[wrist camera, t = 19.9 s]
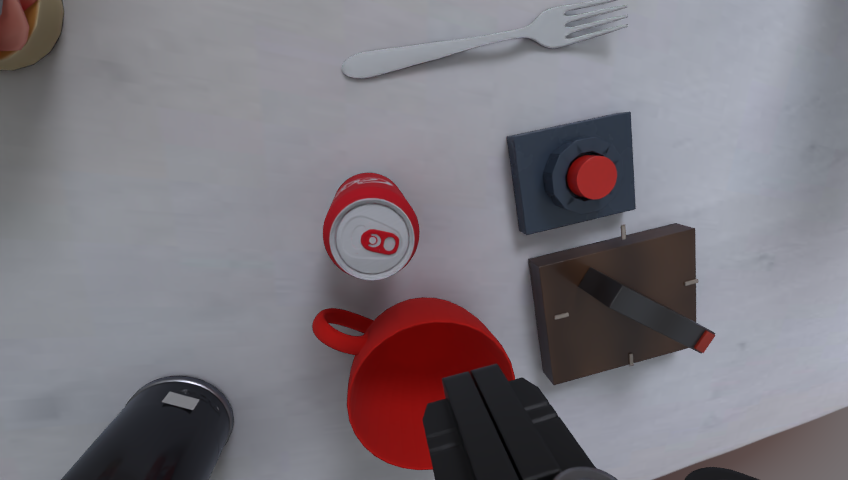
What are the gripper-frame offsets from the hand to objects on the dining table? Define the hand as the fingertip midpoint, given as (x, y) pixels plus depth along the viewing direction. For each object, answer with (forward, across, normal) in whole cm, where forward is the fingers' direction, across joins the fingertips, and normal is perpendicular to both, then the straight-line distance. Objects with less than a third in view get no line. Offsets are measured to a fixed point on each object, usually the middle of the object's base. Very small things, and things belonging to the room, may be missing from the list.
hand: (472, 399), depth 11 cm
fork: (+27, -11, -13) cm, 32 cm away
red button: (+24, -17, 0) cm, 29 cm away
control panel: (+27, -20, +14) cm, 36 cm away
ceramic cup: (+27, +2, +11) cm, 29 cm away
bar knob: (+24, -21, +13) cm, 34 cm away
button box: (+27, -17, 0) cm, 32 cm away
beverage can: (+27, +2, -1) cm, 27 cm away
